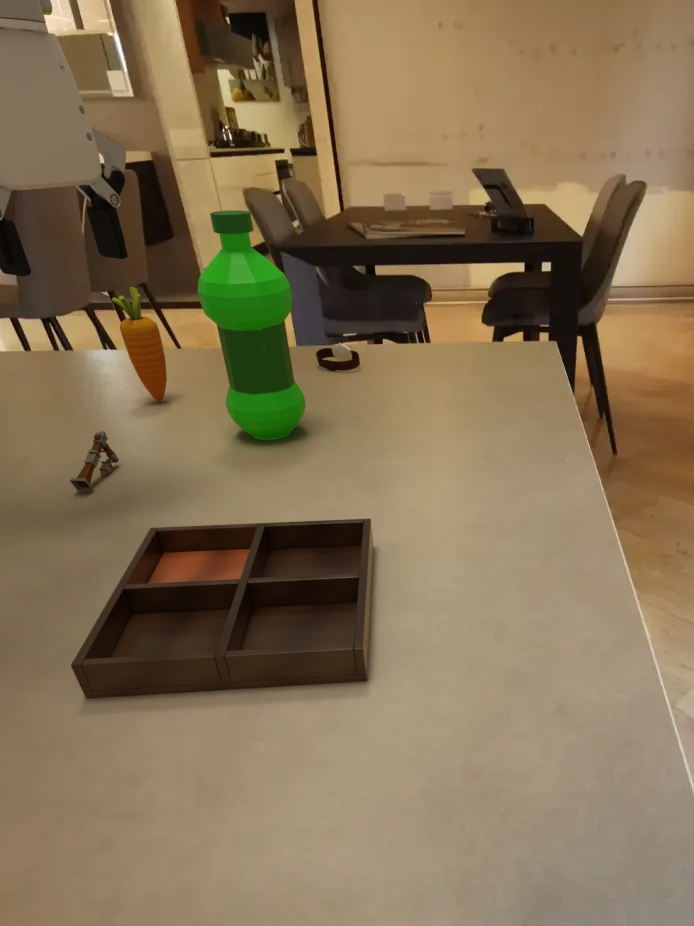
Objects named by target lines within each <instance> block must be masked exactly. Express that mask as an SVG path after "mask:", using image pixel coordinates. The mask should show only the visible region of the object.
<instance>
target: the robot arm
mask: <svg viewBox="0 0 694 926" xmlns="http://www.w3.org/2000/svg"><path fill="white" fill-rule="evenodd" d="M52 13H53V5H52V0H0V271H1V272H2V273H3V274H4V275H11V276H16V277H27V276H28V277H29V276H30V275H31V273H32V270H31V266H30V263H29V261H28V258H27V255H26V251H25V249H24V247H23V244H22V241H21V238H20V236H19V232H18V229H17V227H16V224H15V222H14V221H13V220H12V219H6V217H5V214H6V210H7V207H8V204H9V201H10V197H11V196H12V195H11V194H12V192H13V191H28V190H29V191H30V190H39V189H52V188H64V187H75V188H76V189H77V190H78V191H79V192H80V194H81V195H82V196H84V197H85V199H87V200H88V201H89V203H90V204H91V205H90V206H86V213H87V218H88V220H89V224H90V227H91V230H92V234H93V238H94V240H95V241H94V242H95V244H96V247H97V251H98V254H99V255H100V256H102V257H103V258H111V259H118V260H124V259H128V256H129V255H128V250H127V247H126V241H125V237H124V232H123V229H122V225H121V221H120V218H119V215H118V211H117V208H120V206H121V204H122V203H121V202H122V201H121V197H120V196H121V194H122V192H123V189H124V187H125V183H126V177H125V175H124V173H125V171H126V161H127V151H126V148H125V147H124V146H123V145H121V144H120V143H118V142H116V141H115V140H114V139H111V137H108V136H107V135H105V134H104V133H102V132H100V131H98V130H97V129H95V128H93V127H92V125H91V121H90V119H89V116H88V113H87V110H86V107H85V103H84V101H83V98H82V96H81V93H80V90H79V87H78V85H77V82H76V79H75V77H74V74H73V72H72V70H71V67H70V64H69V62H68V60H67V57H66V55H65V53H64V51H63V48H62V46H61V44H60V42H59V40H58V38H57V36H56V34H55V33H50V32H49V29H48V26H47V22H46V18H45V16H51V15H52ZM100 155H101V156H102V159H103V166H104V169H102V163H101V158H100Z"/></svg>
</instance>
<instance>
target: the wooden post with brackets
mask: <svg viewBox="0 0 694 926" xmlns="http://www.w3.org/2000/svg"><path fill="white" fill-rule="evenodd" d="M108 439H109V438H108V436H107V433H106V431H104V430H100V431H99V432H95V433H94V435H93V439H92V446H91V449H88V451H87V453H86V457H85V460H84V461H83V462H84V465H83V467H82V469H81V470H80V471H79V473H78V475H77V476H76V477H71V478H70V479H69V482H70V484H71V485H72V486H73V487H74V489H76V491H77V492H85V493H86V492H88V493H90V492H91V493H94V490H95V489H94V487H93V486H92V484H91V483H92V478H93V474H94V471H95V469H97V467H98V464H99V462H100V464H101V465H100V467H99V468H98V471H99V472H100V475H101V476H102V477H106V476H107V475H111V471H112V469H115V468H114V466H113V463H114V464H115V463H116V464H117V463H118V462H119V460H120V459H119V458H118V456H117V454H116V452H115V451H114V450H112V448H111V446H110V445H109V444H108V443H107V441H108ZM101 453H104V454H105V455H106V457H107V458H106V459H105V460H104V461H103V460H101V458H102V455H101ZM100 460H101V461H100Z"/></svg>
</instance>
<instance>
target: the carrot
mask: <svg viewBox="0 0 694 926" xmlns="http://www.w3.org/2000/svg"><path fill="white" fill-rule="evenodd" d="M128 290H129V293H130V296H131V300H132V303H130V302H129V301H128V300H127V299H126V298H125V296H124V295H120V296H118V298H117V297H112V299H111V302H112V303H114V304H115V305H118V306H119V307H120V308H122V310H123V311H124V312H125V313H126V314H127V315H128V318H125V319H123V320H122V321H120V323H119V331H120V334H121V337H122V340H123V344H124V346H125V349H126V351H127V354H128V357H129V360H130V362H131V364H132V367H133V368H134V370H135V373H136V375H137V376H138V379H139V380H140V382H141V383H142V385H143V386H144V388H145V389H146V391H147V392H148V393H149V394H150V395H151V397H152V398H153V399H154V400H155V401H157V402H158V403H162V401H163V399H164V397H165V394H166V389H167V381H168V379H167V378H168V377H167V376H168V375H167V363H166V356H165V351H164V346H163V345H164V344H163V341H162V337H161V333H160V329H159V326H158V324H157V322H155V320H153V319H152V318H150V317H148V316H142V307H141V303H142V295H141V294H140V293H139V291H138V288H137V287H135V286H130V287H129V289H128Z"/></svg>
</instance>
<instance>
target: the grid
mask: <svg viewBox="0 0 694 926" xmlns="http://www.w3.org/2000/svg"><path fill="white" fill-rule="evenodd" d="M373 534H374V533H373V526H372V518H352V519H351V518H350V519H348V518H347V519H327V520H304V521H303V520H302V521H301V520H300V521H284V522H283V521H279V522H278V521H277V522H276V521H275V522H256V523H255V522H251V523H232V524H231V523H230V524H209V525H207V524H205V525H186V526H185V525H184V526H182V525H181V526H161V527H150V528H149V530H148V532H147V533H146V535H145V537H144V538H143V540H142V542H141V544H140V546H139V547H138V548H137V550H136V552H135V554H134V556H133V558H132V559H131V561H130V562H129V564H128V566H127V568H126V569H125V571H124V572H123V575H122V576H121V578H120V580H119V581H118V583H117V585H116V586H115V588H114V590H113V592H112V593H111V595H110V597H109V599H108V600H107V602H106V604H105V606H104V607H103V609H102V611H101V612H100V614H99V616H98V618H97V620H96V621H95V622H94V624H93V626H92V628H91V629H90V631H89V633H88V635H87V636H86V638H85V639H84V642H83V643H82V645H81V647H80V649H79V650H78V651H77V653H76V655H75V657H74V659H73V660H72V662H71V664H70V667H71V670H72V671H73V674H74V676H75V678H76V680H77V682H78V685H79V688H80V689H81V691H82V693H83V695H84V697H85V698H88V699H91V698H105V697H107V698H108V697H120V696H139V695H153V694H167V693H170V694H171V693H185V692H203V691H218V690H234V689H235V690H236V689H249V688H250V689H251V688H252V689H253V688H264V687H265V688H267V687H268V688H269V687H282V686H299V685H313V684H332V683H349V682H362V681H363V682H365V681H368V674H369V673H368V671H369V654H370V653H369V652H370V651H369V650H370V634H371V633H370V629H371V613H372V612H371V611H372V609H371V608H372V589H373V571H374V570H373V568H374V550H375V546H374V545H375V543H374V536H373Z"/></svg>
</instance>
